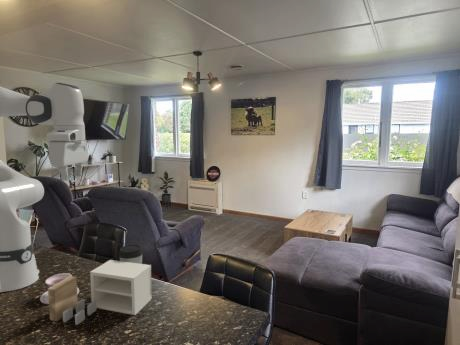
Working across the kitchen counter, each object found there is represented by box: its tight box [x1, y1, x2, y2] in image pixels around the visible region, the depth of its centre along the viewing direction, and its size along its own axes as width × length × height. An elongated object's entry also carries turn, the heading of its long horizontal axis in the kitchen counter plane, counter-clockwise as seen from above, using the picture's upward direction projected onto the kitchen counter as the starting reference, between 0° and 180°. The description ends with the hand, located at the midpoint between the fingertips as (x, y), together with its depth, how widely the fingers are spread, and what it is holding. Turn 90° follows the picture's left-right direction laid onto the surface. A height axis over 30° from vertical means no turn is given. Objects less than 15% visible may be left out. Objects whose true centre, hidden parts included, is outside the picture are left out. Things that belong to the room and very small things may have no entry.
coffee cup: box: [118, 244, 144, 264], centre depth 110 cm, size 8×8×15 cm
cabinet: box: [62, 259, 153, 325], centre depth 95 cm, size 19×19×12 cm
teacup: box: [39, 272, 80, 305], centre depth 104 cm, size 12×12×6 cm
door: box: [47, 275, 78, 322], centre depth 94 cm, size 3×8×10 cm, turn 164°
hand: (72, 178), depth 97 cm, fingers open, 8 cm apart
